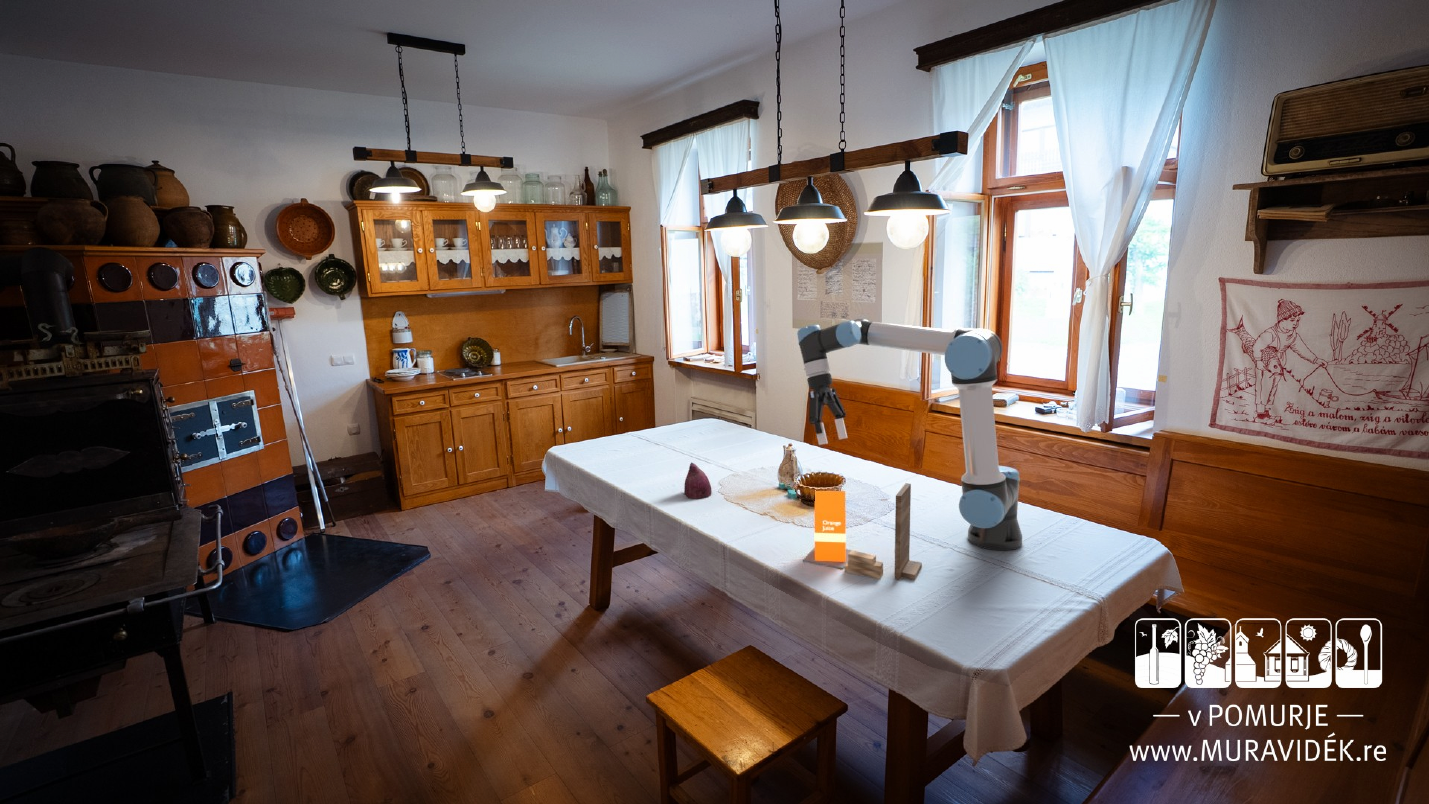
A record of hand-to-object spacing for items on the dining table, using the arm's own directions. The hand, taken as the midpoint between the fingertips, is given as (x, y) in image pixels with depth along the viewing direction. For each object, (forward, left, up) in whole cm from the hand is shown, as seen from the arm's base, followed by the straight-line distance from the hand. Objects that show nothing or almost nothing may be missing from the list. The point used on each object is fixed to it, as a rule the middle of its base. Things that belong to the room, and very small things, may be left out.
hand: (833, 441), depth 207 cm
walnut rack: (-21, +20, -30) cm, 42 cm away
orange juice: (-5, +18, -29) cm, 35 cm away
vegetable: (+58, -12, -30) cm, 66 cm away
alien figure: (+19, -31, -30) cm, 47 cm away
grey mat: (-5, +18, -30) cm, 35 cm away
